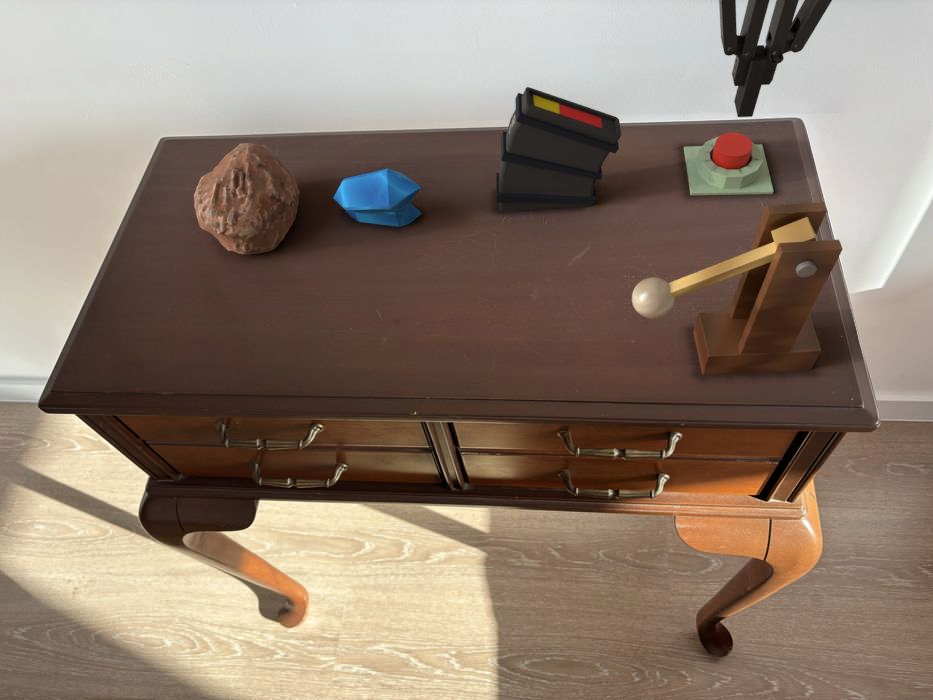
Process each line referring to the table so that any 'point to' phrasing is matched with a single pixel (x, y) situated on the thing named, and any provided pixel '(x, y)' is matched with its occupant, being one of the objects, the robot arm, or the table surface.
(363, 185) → the crystal
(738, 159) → the red button
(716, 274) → the switch lever
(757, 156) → the button box
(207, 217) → the decorative rock
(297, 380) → the table surface
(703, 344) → the switch bracket
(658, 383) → the table surface
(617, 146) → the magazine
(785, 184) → the table surface
